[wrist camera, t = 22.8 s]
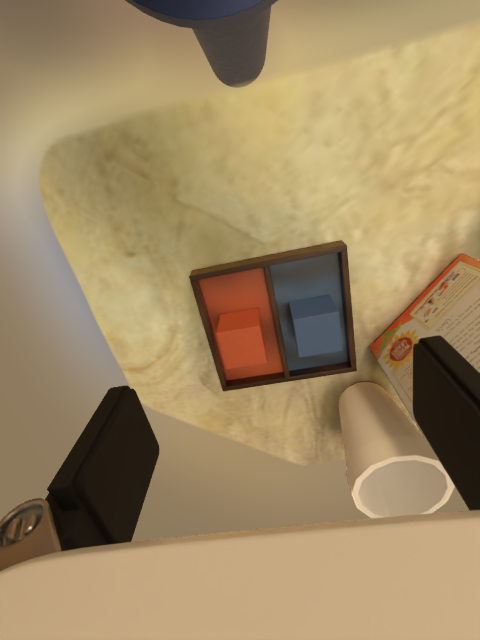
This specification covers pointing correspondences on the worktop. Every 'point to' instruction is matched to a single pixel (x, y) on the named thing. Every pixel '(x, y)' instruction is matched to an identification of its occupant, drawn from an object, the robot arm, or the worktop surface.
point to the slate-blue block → (316, 326)
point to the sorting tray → (278, 310)
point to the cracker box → (434, 326)
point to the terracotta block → (242, 338)
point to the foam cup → (388, 457)
